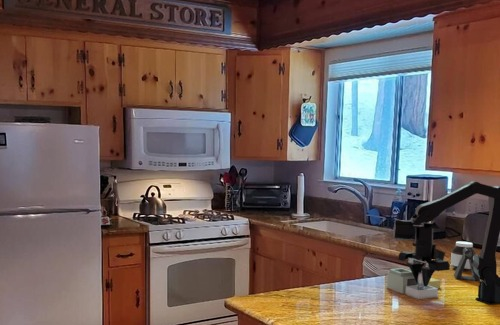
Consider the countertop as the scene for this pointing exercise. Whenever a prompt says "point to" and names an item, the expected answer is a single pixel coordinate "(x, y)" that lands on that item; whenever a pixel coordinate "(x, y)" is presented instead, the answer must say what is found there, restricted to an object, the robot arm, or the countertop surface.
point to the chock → (434, 283)
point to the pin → (420, 282)
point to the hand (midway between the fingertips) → (422, 285)
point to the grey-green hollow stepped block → (400, 279)
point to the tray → (421, 292)
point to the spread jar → (458, 253)
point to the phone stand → (462, 264)
